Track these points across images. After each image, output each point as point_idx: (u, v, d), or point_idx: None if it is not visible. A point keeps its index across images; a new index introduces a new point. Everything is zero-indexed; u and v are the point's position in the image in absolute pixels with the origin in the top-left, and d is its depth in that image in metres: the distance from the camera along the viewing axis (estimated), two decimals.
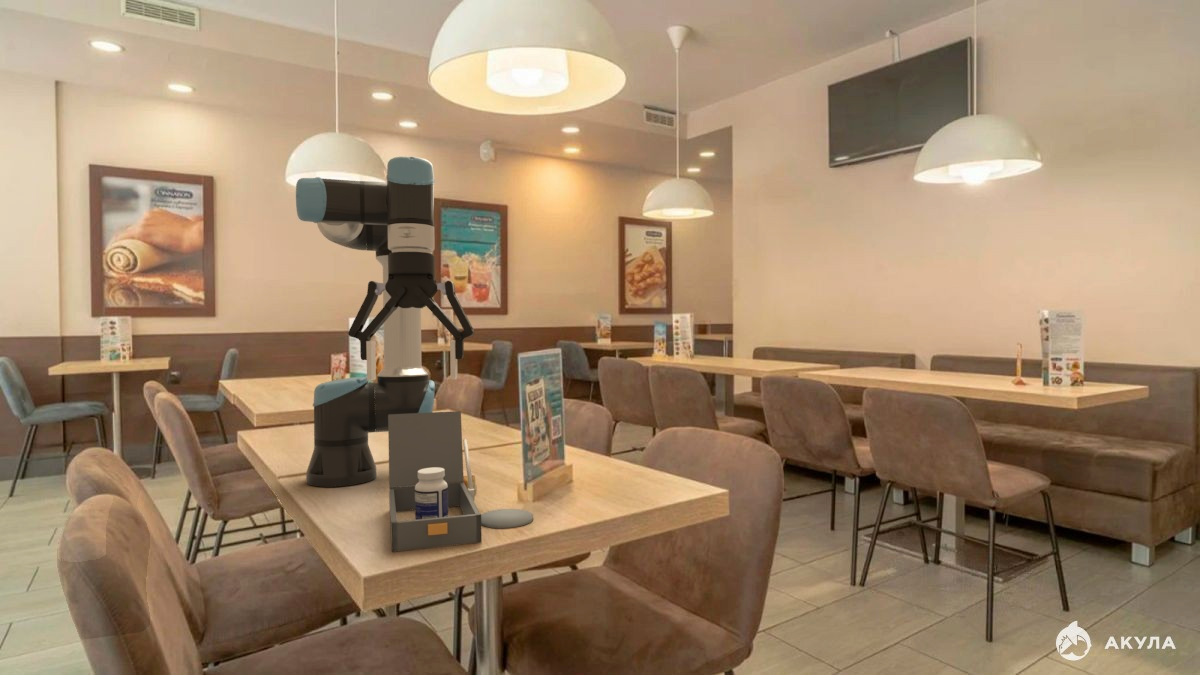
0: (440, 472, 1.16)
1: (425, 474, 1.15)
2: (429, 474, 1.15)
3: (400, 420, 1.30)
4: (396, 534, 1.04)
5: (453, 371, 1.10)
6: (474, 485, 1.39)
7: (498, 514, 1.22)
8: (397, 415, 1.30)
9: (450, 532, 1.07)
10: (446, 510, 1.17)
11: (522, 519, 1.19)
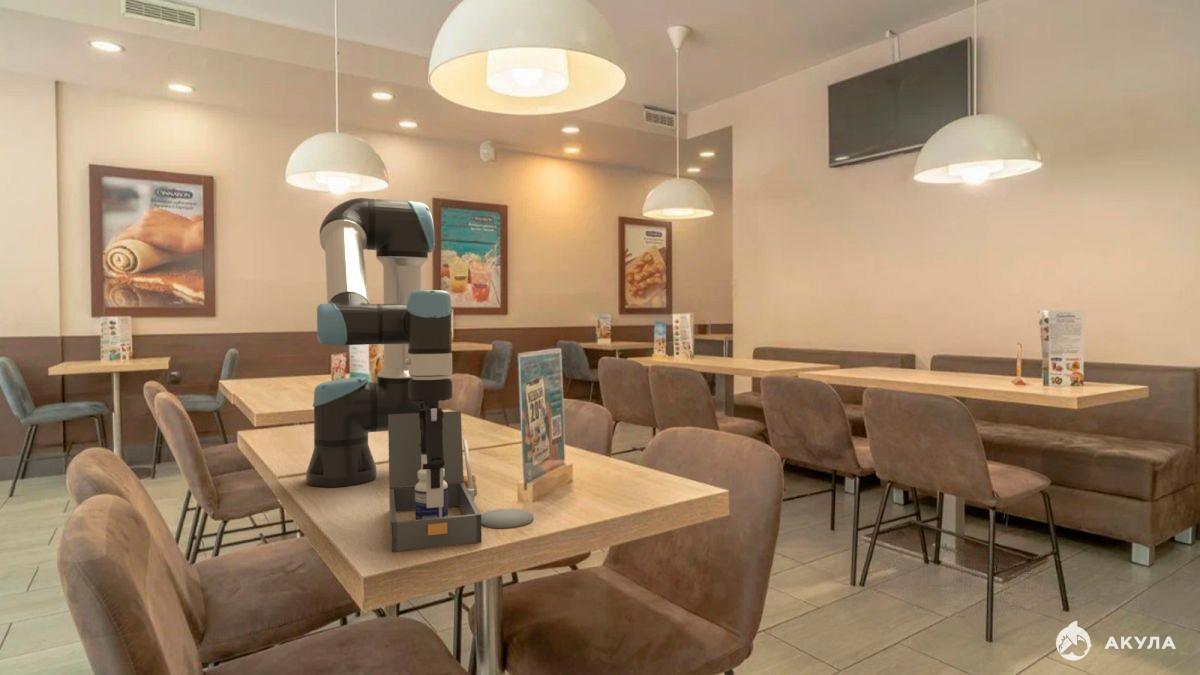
0: None
1: (425, 474, 1.15)
2: None
3: (400, 420, 1.30)
4: (396, 534, 1.04)
5: None
6: (475, 485, 1.39)
7: (498, 514, 1.22)
8: (397, 415, 1.30)
9: (450, 532, 1.07)
10: (446, 510, 1.17)
11: (522, 519, 1.19)
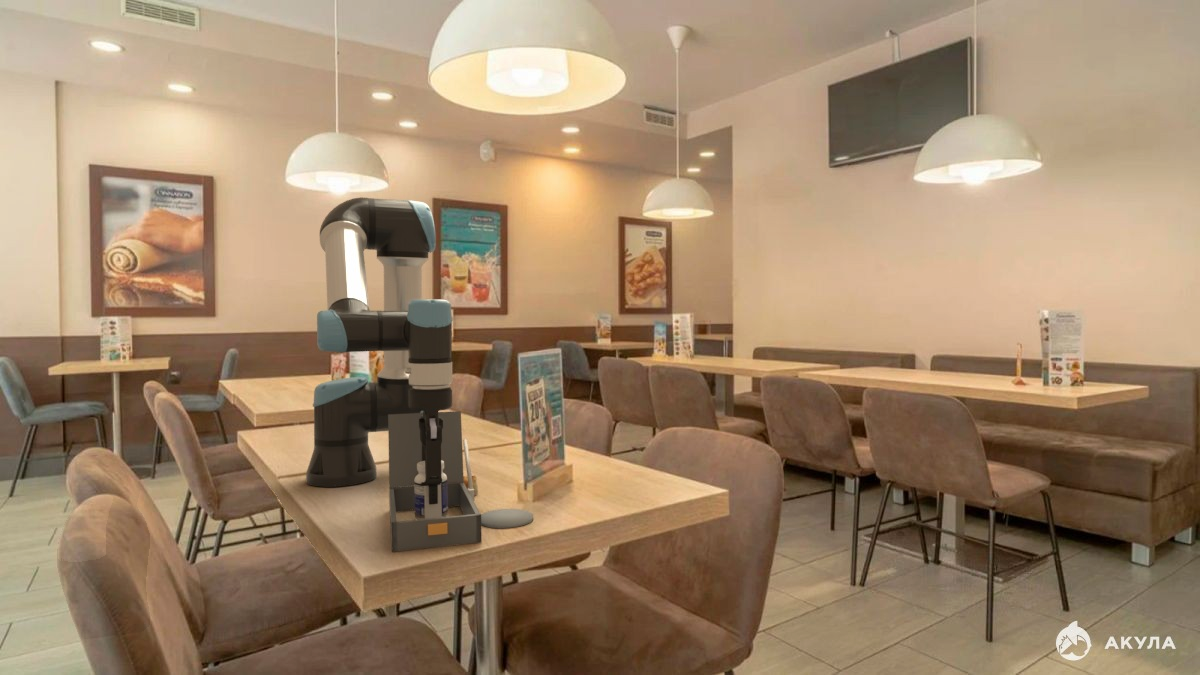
0: None
1: (424, 466, 1.15)
2: None
3: (400, 420, 1.30)
4: (396, 534, 1.04)
5: None
6: (475, 485, 1.39)
7: (498, 514, 1.22)
8: (397, 415, 1.30)
9: (450, 532, 1.07)
10: (445, 502, 1.17)
11: (522, 519, 1.19)
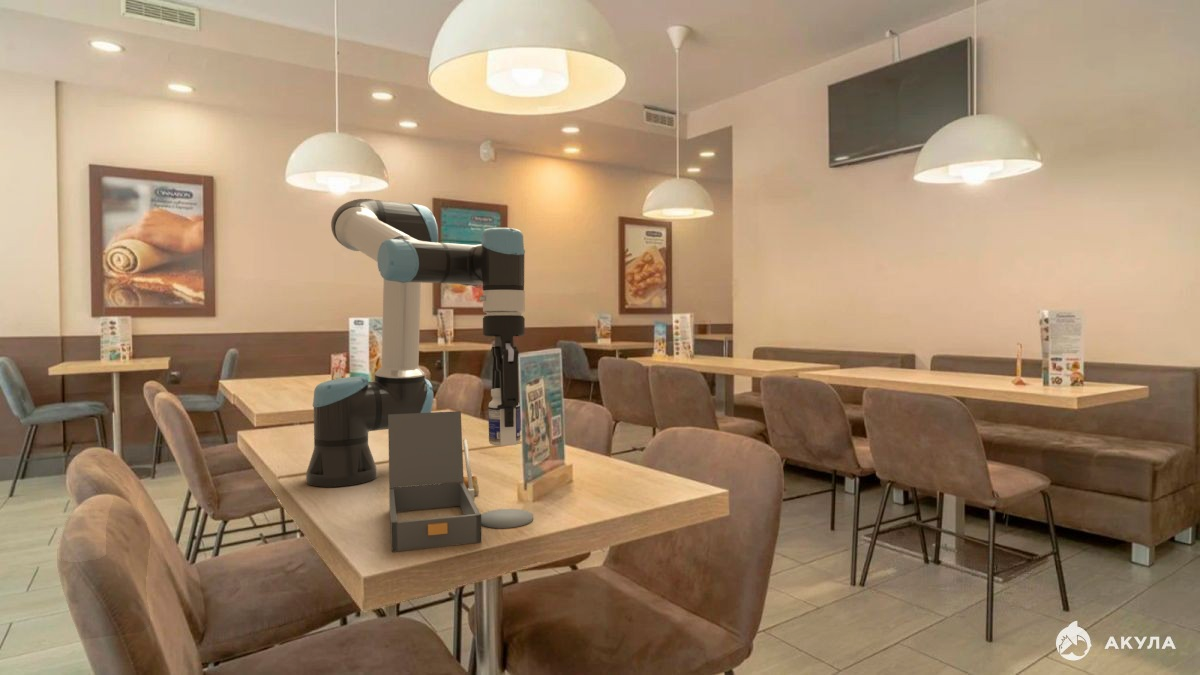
0: None
1: (499, 391, 1.18)
2: None
3: (400, 420, 1.30)
4: (396, 534, 1.04)
5: (500, 437, 1.17)
6: (477, 486, 1.38)
7: (498, 514, 1.22)
8: (397, 415, 1.30)
9: (450, 532, 1.07)
10: (519, 427, 1.20)
11: (522, 519, 1.19)
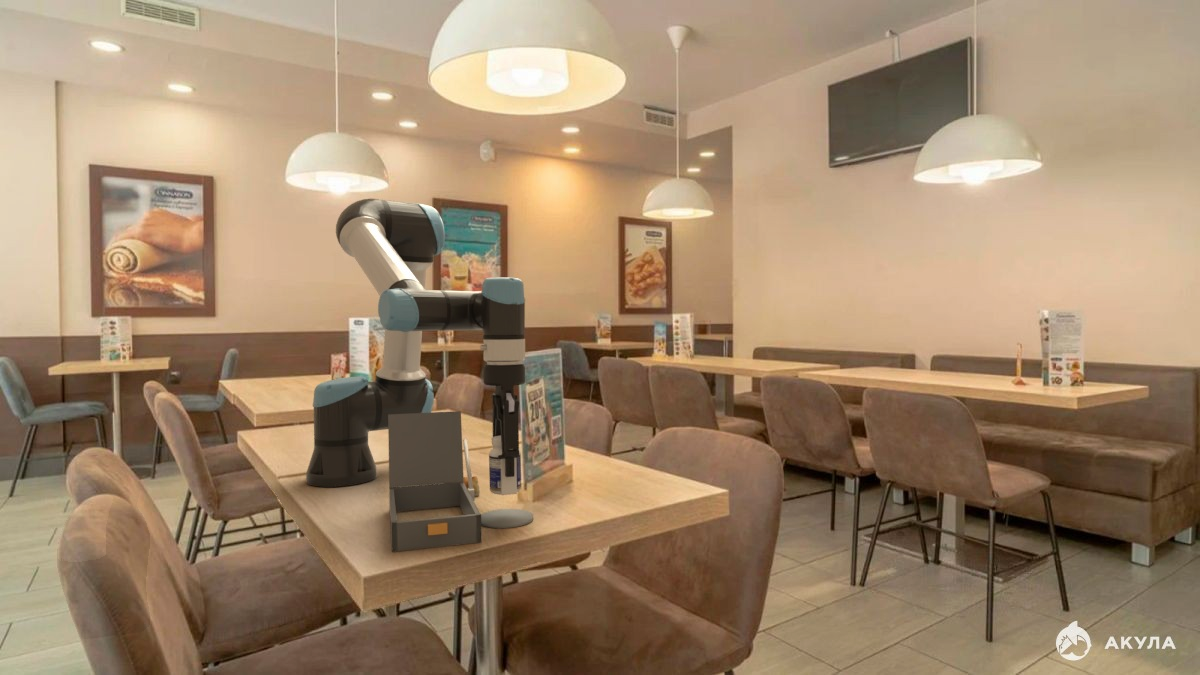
0: None
1: (500, 440, 1.18)
2: None
3: (400, 420, 1.30)
4: (396, 534, 1.04)
5: (501, 487, 1.17)
6: (477, 486, 1.38)
7: (498, 514, 1.22)
8: (397, 415, 1.30)
9: (450, 532, 1.07)
10: (520, 476, 1.20)
11: (522, 519, 1.19)
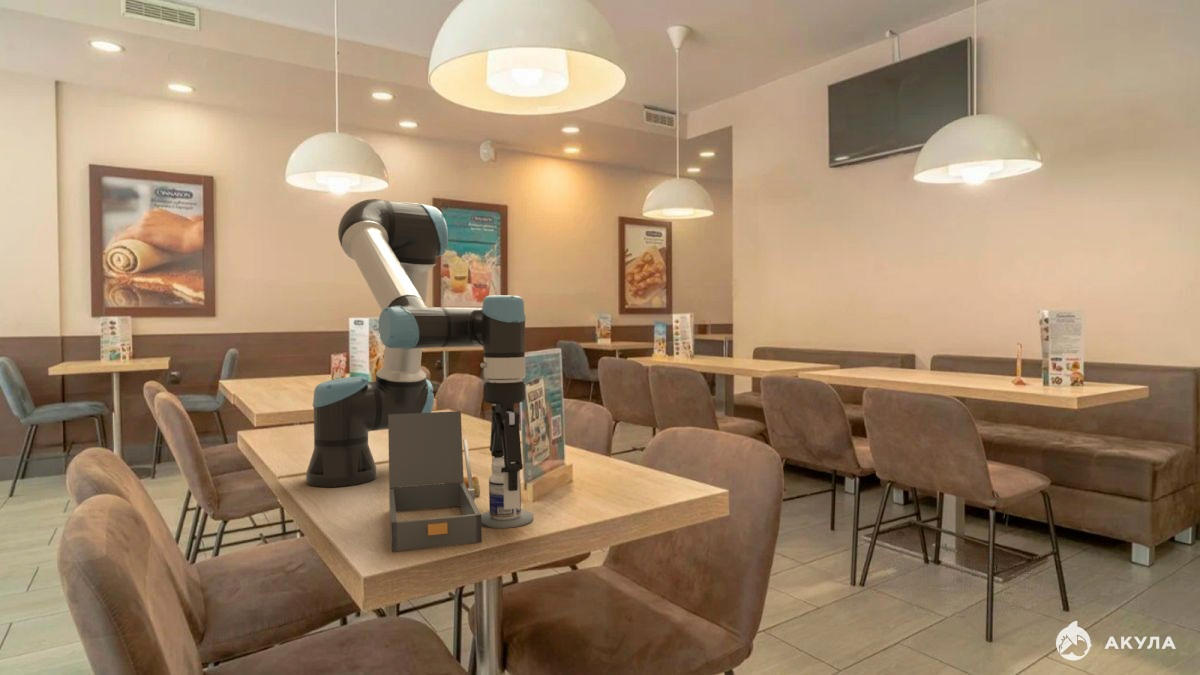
0: None
1: (500, 466, 1.18)
2: (504, 466, 1.18)
3: (400, 420, 1.30)
4: (396, 534, 1.04)
5: (504, 501, 1.14)
6: (478, 486, 1.38)
7: None
8: (397, 415, 1.30)
9: (450, 532, 1.07)
10: None
11: (522, 519, 1.19)
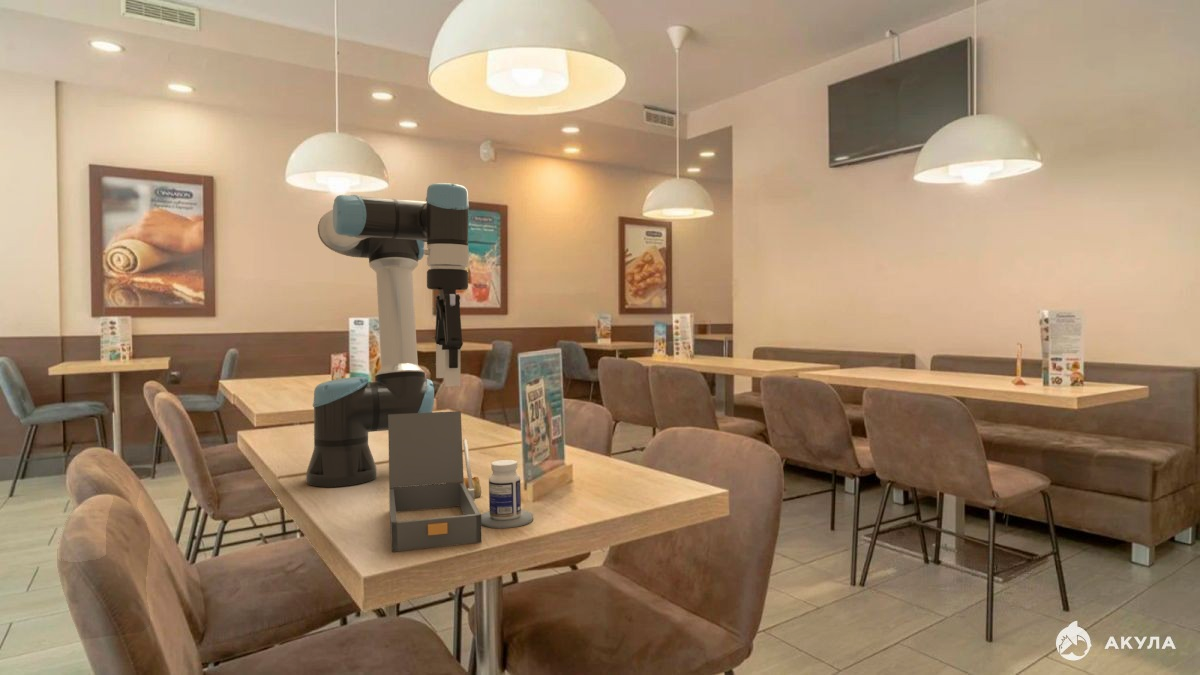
0: (514, 464, 1.19)
1: (500, 466, 1.18)
2: (504, 466, 1.18)
3: (400, 420, 1.30)
4: (396, 534, 1.04)
5: None
6: (479, 487, 1.37)
7: None
8: (397, 415, 1.30)
9: (450, 532, 1.07)
10: (519, 501, 1.20)
11: (522, 519, 1.19)
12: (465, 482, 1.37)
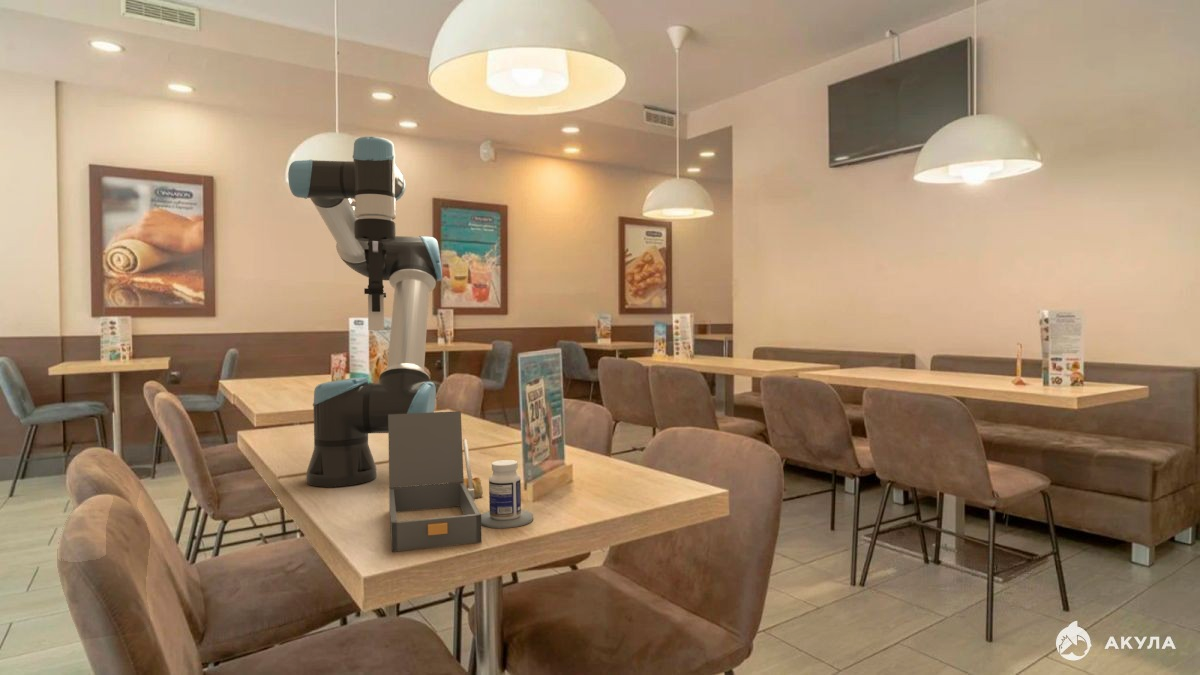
0: (514, 464, 1.19)
1: (500, 466, 1.18)
2: (504, 466, 1.18)
3: (400, 420, 1.30)
4: (396, 534, 1.04)
5: (368, 322, 1.21)
6: (481, 487, 1.37)
7: None
8: (397, 415, 1.30)
9: (450, 532, 1.07)
10: (519, 501, 1.20)
11: (522, 519, 1.19)
12: (466, 483, 1.37)
